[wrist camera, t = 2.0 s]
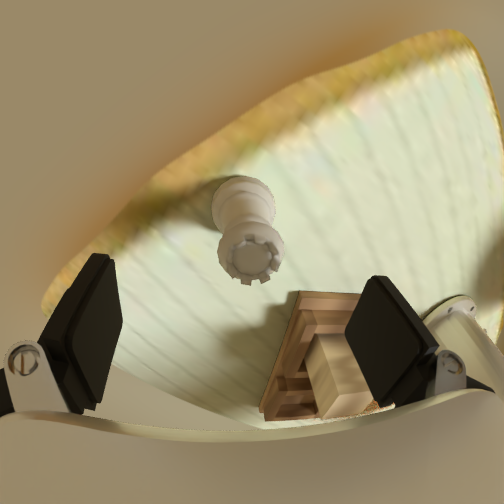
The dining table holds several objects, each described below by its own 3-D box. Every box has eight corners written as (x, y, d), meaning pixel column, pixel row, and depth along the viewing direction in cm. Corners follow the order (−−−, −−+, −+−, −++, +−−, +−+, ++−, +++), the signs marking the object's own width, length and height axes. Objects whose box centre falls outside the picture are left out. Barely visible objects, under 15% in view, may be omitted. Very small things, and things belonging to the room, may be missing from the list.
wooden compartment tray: (374, 294, 25) (418, 362, 17) (313, 404, 34) (328, 457, 26) (299, 290, 24) (329, 373, 16) (258, 406, 33) (266, 465, 25)
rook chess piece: (256, 241, 21) (272, 311, 14) (201, 219, 20) (189, 283, 13) (284, 190, 19) (318, 240, 12) (227, 164, 18) (228, 200, 11)
